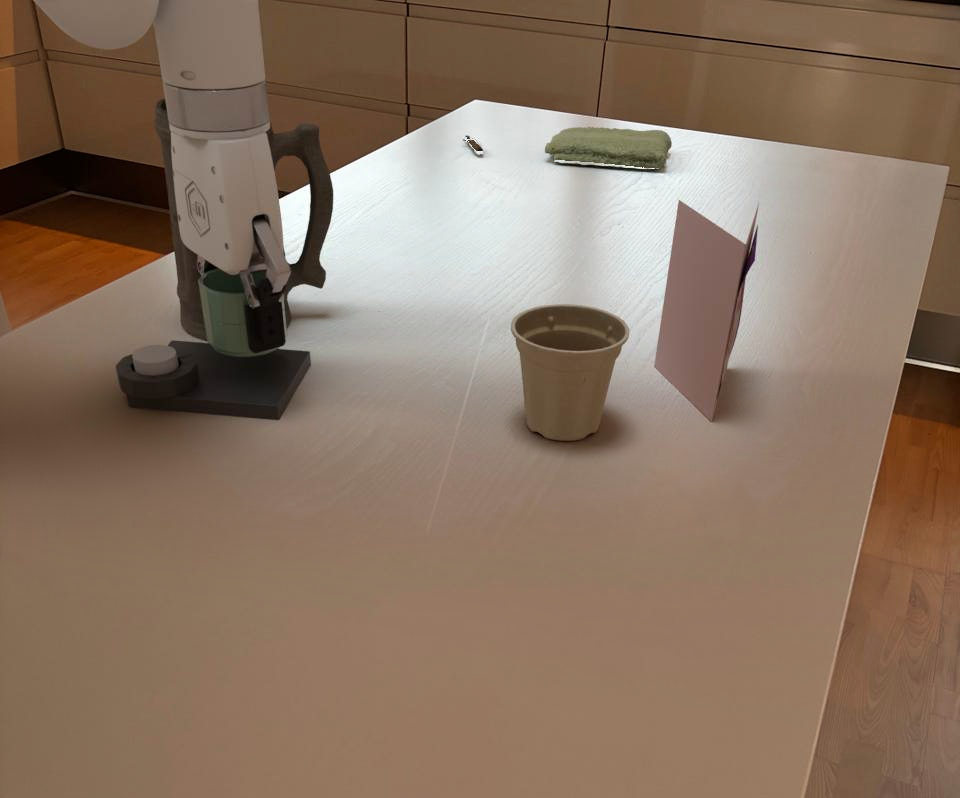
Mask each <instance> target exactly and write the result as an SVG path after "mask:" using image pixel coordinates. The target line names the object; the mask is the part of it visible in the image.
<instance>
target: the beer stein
mask: <svg viewBox="0 0 960 798" xmlns="http://www.w3.org/2000/svg"><path fill="white" fill-rule="evenodd" d="M154 107H155V109H154V110H155V111H154V113H155V119H154V130H155V132H156V134H157V136H158V138H159V140H160V144H161V153H162V159H163V167H164V175H165V182H166V183H165V184H166V191H167V200H168V208H169V218H170V229H171V237H172V244H173V245H172V246H173V253H174V259H175V267H176V278H177V279H176V280H177V285H176V295H177V297H178V300H179V306H180V307H179V310H180V311H179V312H180V313H179V315H180V316H179V317H180V324H181V327H182V328H183V329H184V331H186V332H187V333H189V334H190V335H192V336H194V337H195V336H196V338H198V339H201V340H205V341H207V337H206V330H205V324H204V317H203V310H202V304H201V297H200V290H199V284H198V279H199V278H200V277H201V276H202V275H201V274H200V273H199V271H198V267H197V258H198V255H197V254H196V253H194V252H193V251H191V250H190V249H189V248H188V247H186V246H185V244H184V243H183V241H182V239H181V236H180V230H179V223H178V215H177V207H176V198H175V189H174V179H173V168H172V153H171V131H170V127H169V120H168V114H167V107H166V101H165V97H163V98H161V99H160V100H157V102H156V103H155V106H154ZM273 130H274V129H273V126H272V122H271V121H270V129H269V130H268V131H266V134H267V137H268V142H269V146H270V151H271V156H272V161H273V166H274V172H275V173H276V166H277V164H278V162H279V161H280V160H281V159H282V158H284V157H293V156H294V157H296V158H298V159H300V161H301V162H302V164H303V166H304V167H305V169H306V171H307V175H308V176H307V177H308V181H309V183H308V184H309V193H310V195H309V196H310V202H309V203H310V204H309V217H308V223H307V230H306V234H305V238H304V243H303V247H302V250H301V254H300V256H299V258H298V260H297V261H296V262H295V263H289V262H288V264H289V266H290V270H291V273H290V276H289V278H288V280H287V283H286V289H285V291H284V307H285V308H284V309H285V318H286V328H288V326H289V325H290V323H291V321H292V313H291V308H290V305H289V301H288V295H289V293H290V292H291V291H292V289H294V288H296V287H298V286H303V285H307V286H309V287H313V288H317V289H321V290H322V289H323V288H324V285H325V283H326V279H327V278H326V277H327V271H326V269H325V268H324V266H323V265H322V263H321V261H320V259H321V253H322V249H323V246H324V244H325V240H326V237H327V235H328V232H329V228H330V225H331V223H332V216H333V211H334V187H333V181H332V177H331V173H330V169H329V167H328V164H327V162H326V159H325V156H324V154H323V151H322V148H321V142H320V127H319V125H317V124H314V123H307V122H303V123H301V122H300V123H299V124H298V125H297V126H296V127H295V128H294V129H293V130H288V131H284V132H279V133H276V132H274V131H273ZM284 256H285V257H286V251H285V250H284ZM262 262H263V260H262V259H261V258H259V257H253V258H251V259H250V262H249V265H253V264H258V263H262Z"/></svg>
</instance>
